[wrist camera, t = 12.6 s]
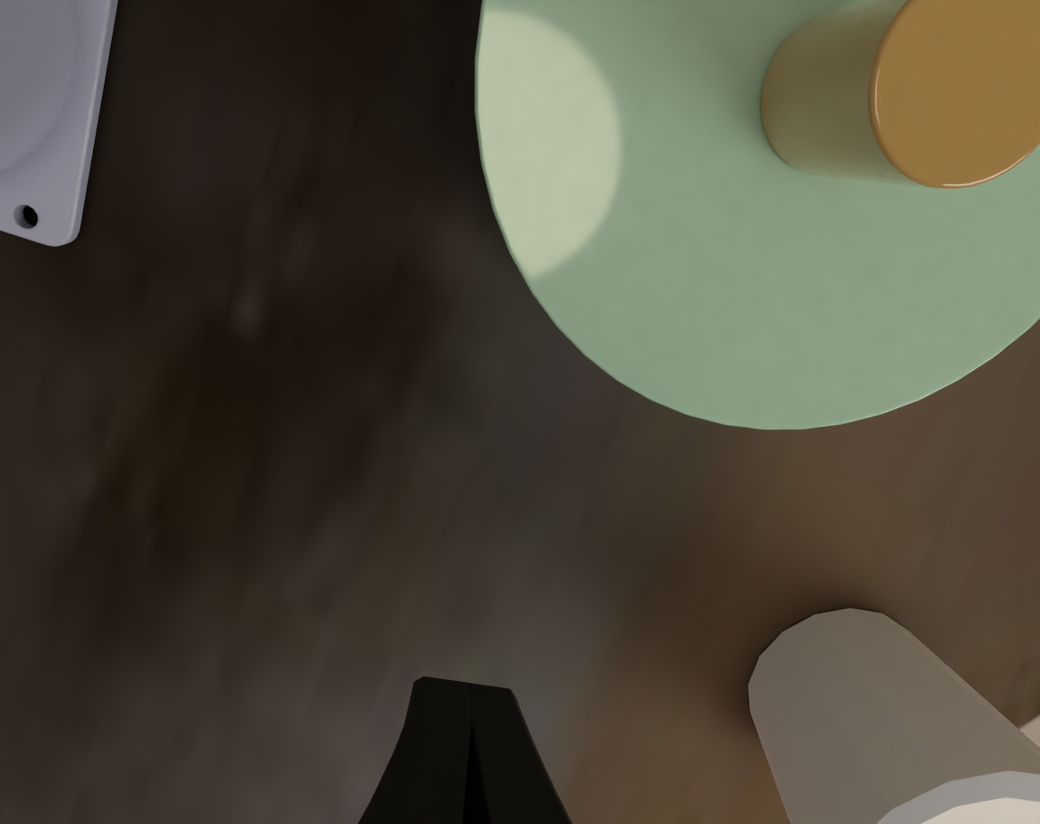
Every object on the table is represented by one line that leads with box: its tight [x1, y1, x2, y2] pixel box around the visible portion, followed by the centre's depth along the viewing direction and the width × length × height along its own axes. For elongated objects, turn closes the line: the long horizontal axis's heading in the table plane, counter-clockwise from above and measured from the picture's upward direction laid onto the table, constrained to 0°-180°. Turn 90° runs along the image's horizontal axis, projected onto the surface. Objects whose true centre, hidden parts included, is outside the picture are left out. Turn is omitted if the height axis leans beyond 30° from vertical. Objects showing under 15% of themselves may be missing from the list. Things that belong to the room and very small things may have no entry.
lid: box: [474, 0, 1040, 429], centre depth 10 cm, size 11×11×4 cm
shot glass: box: [748, 608, 1040, 824], centre depth 20 cm, size 7×7×7 cm
